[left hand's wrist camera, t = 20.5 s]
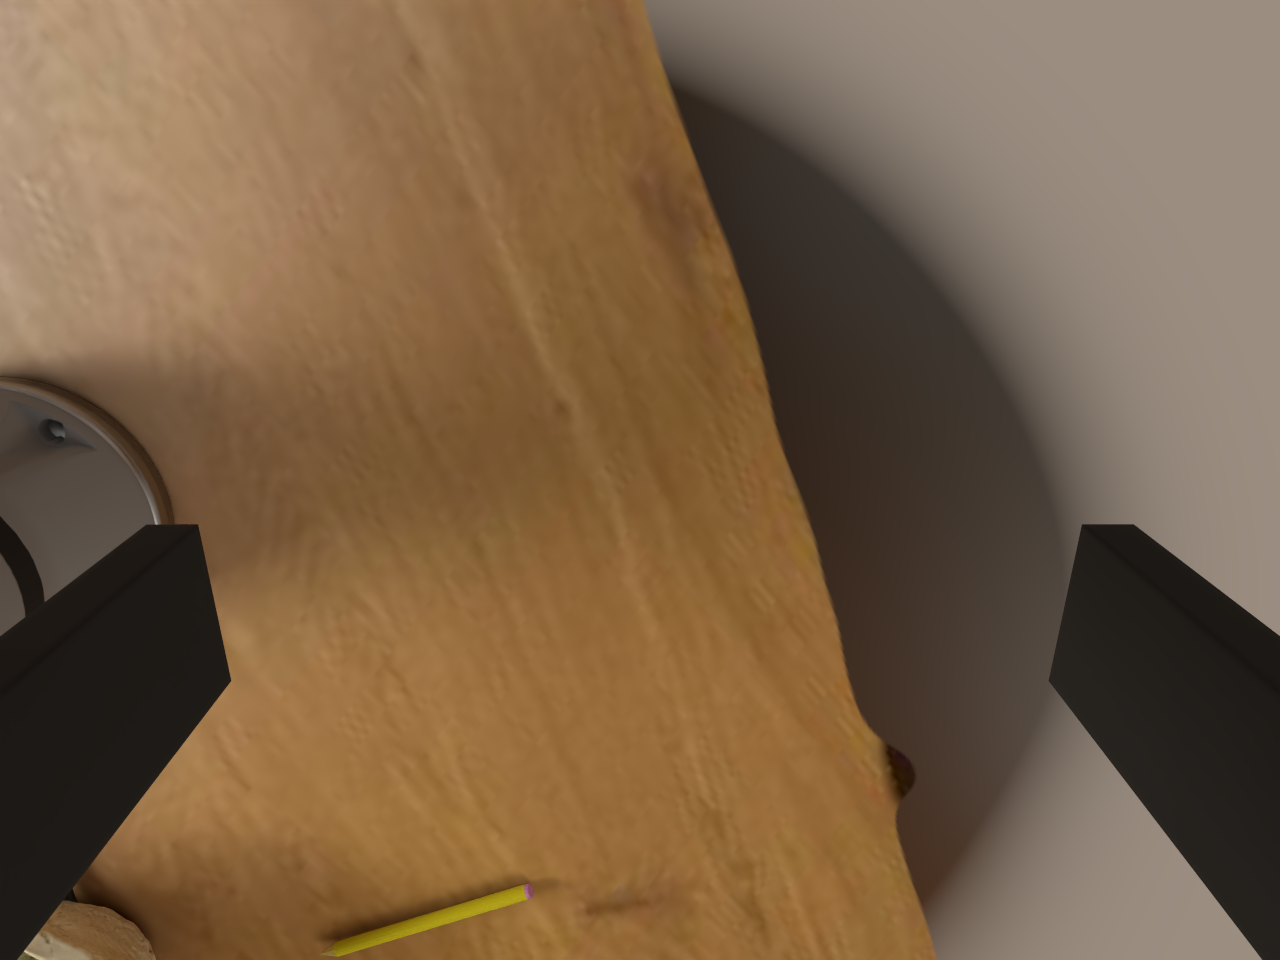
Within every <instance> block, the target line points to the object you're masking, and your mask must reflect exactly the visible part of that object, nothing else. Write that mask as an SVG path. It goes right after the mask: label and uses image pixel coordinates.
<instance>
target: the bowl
mask: <svg viewBox="0 0 1280 960" xmlns="http://www.w3.org/2000/svg"><path fill="white" fill-rule="evenodd" d="M18 960H156V957H155V954H154V952H153V951H152V947H151V944H150V942H149V940H148V939H146V938H145V937H144V935H143V934H142V933H141V931H140V930H139V928H138V927H137V926H136V925H135V924H134V923H133V922H131V921H129V920H126V919H125V918H123V917H122V916H120V915H119V914H118V913H116V912H115V911H113V910H112V909H109V908H106V907H101V906H96V905H91V904H83V903H76V902H71V901H62V902H61V904H60V905H59V906H58V908H57V909H56V910H55V912H54V913H53V914H52V915H51V917H50V918H49V919H48V921H47V922H46V923H45V925H44V926H43V927H42V928H41V930H40V931H39V932H38V934H37V935H36V936H35V938H34V939H33V940H32V942H31V943H30V944H29V945H28V947H27V948H26V949H25V951H24V952H23V953H22V955H21V956H20V957H19V958H18Z"/></svg>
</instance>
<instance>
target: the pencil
mask: <svg viewBox="0 0 1280 960" xmlns="http://www.w3.org/2000/svg"><path fill="white" fill-rule="evenodd" d="M531 898H533V888H532V885H531V884H530V883H528V884H523V885H520V886H517V887H513V888H510V889H507V890H504V891H500V892H497V893H494V894H490V895H487V896H484V897H481V898H477V899H474V900H471V901H468V902H464V903H461V904H458V905H454V906H451V907H448V908H445V909H441V910H438V911H435V912H431V913H428V914H425V915H422V916H418V917H415V918H412V919H408V920H405V921H402V922H399V923H395V924H392V925H389V926H386V927H382V928H379V929H376V930H372V931H369V932H366V933H363V934H359V935H356V936H353V937H349V938H346V939H343V940H340V941H337V942H335V943H334V944H333V945H331V946H330V947H329V948H327V949H326V950H325V951H323V952H322V953H321V954H319V955H328V956H337V957H339V956H342V955H345V954H348V953H352V952H355V951H358V950H362V949H365V948H368V947H372V946H375V945H378V944H382V943H385V942H388V941H391V940H395V939H398V938H401V937H405V936H408V935H411V934H415V933H418V932H421V931H425V930H428V929H431V928H435V927H438V926H441V925H445V924H448V923H451V922H455V921H458V920H461V919H465V918H468V917H471V916H474V915H478V914H481V913H484V912H488V911H491V910H494V909H498V908H501V907H504V906H508V905H511V904H514V903H518V902H521V901H524V900H528V899H531Z"/></svg>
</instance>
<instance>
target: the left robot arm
mask: <svg viewBox="0 0 1280 960" xmlns="http://www.w3.org/2000/svg"><path fill="white" fill-rule="evenodd" d="M230 682H231V677H230V673H229V668H228V663H227V659H226V654H225V649H224V645H223V640H222V635H221V631H220V626H219V621H218V616H217V612H216V607H215V602H214V598H213V593H212V588H211V584H210V579H209V574H208V569H207V565H206V560H205V555H204V551H203V546H202V541H201V537H200V532H199V527H198V524H174V519H173V511H172V507H171V503H170V499H169V496H168V494H167V491H166V488H165V486H164V483H163V481H162V479H161V477H160V475H159V473H158V471H157V470H156V468H155V466H154V464H153V463H152V461H151V460H150V458H149V457H148V456H147V454H146V453H145V451H144V450H143V449H142V448H141V446H140V445H139V444H138V443H137V442H136V440H135V439H134V438H133V437H132V436H131V435H130V434H129V433H128V432H127V431H126V430H125V429H124V428H123V427H121V426H120V425H119V424H118V423H117V422H116V421H115V420H113V419H112V418H111V417H109V416H108V415H107V414H105V413H104V412H103V411H101V410H100V409H98V408H97V407H95V406H94V405H92V404H90V403H89V402H87V401H85V400H83V399H81V398H79V397H78V396H76V395H74V394H71V393H69V392H67V391H64V390H62V389H59V388H57V387H54V386H51V385H48V384H44V383H40V382H36V381H32V380H26V379H20V378H9V377H0V960H18V958H19V957H20V956H21V955H22V953H23V952H24V951H25V949H26V948H27V947H28V945H29V944H30V943H31V942H32V940H33V939H34V938H35V936H36V935H37V934H38V932H39V931H40V930H41V928H42V927H43V926H44V925H45V923H46V922H47V921H48V919H49V918H50V917H51V915H52V914H53V913H54V912H55V910H56V909H57V908H58V906H59V905H60V904H61V902H62V901H71V902H76V903H78V902H77V900H76V897H75V894H74V892H73V889H72V888H73V887H74V885H75V884H76V883H77V881H78V880H79V879H80V878H81V876H82V875H83V874H84V872H85V871H86V870H87V868H88V867H89V866H90V865H91V863H92V862H93V861H94V859H95V858H96V857H97V855H98V854H99V853H100V851H101V850H102V849H103V848H104V846H105V845H106V844H107V842H108V841H109V840H110V838H111V837H112V836H113V834H114V833H115V832H116V831H117V829H118V828H119V827H120V825H121V824H122V823H123V821H124V820H125V819H126V818H127V816H128V815H129V814H130V812H131V811H132V810H133V808H134V807H135V806H136V804H137V803H138V802H139V801H140V799H141V798H142V797H143V795H144V794H145V793H146V791H147V790H148V789H149V787H150V786H151V785H152V784H153V782H154V781H155V780H156V778H157V777H158V776H159V774H160V773H161V772H162V771H163V769H164V768H165V767H166V765H167V764H168V763H169V761H170V760H171V759H172V757H173V756H174V755H175V754H176V752H177V751H178V750H179V748H180V747H181V746H182V744H183V743H184V742H185V740H186V739H187V738H188V737H189V735H190V734H191V733H192V731H193V730H194V729H195V727H196V726H197V725H198V724H199V722H200V721H201V720H202V718H203V717H204V716H205V714H206V713H207V712H208V710H209V709H210V708H211V707H212V705H213V704H214V703H215V701H216V700H217V699H218V697H219V696H220V695H221V693H222V692H223V691H224V690H225V688H226V687H227V686H228V684H229V683H230ZM1049 682H1050V683H1051V684H1052V686H1053V687H1054V688H1055V689H1056V691H1057V692H1058V693H1059V695H1060V696H1061V697H1062V699H1063V700H1064V701H1065V703H1066V704H1067V705H1068V706H1069V708H1070V709H1071V710H1072V712H1073V713H1074V714H1075V716H1076V717H1077V718H1078V720H1079V721H1080V722H1081V724H1082V725H1083V726H1084V727H1085V729H1086V730H1087V731H1088V733H1089V734H1090V735H1091V737H1092V738H1093V739H1094V740H1095V742H1096V743H1097V744H1098V746H1099V747H1100V748H1101V750H1102V751H1103V752H1104V753H1105V755H1106V756H1107V757H1108V759H1109V760H1110V761H1111V763H1112V764H1113V765H1114V767H1115V768H1116V769H1117V770H1118V772H1119V773H1120V774H1121V776H1122V777H1123V778H1124V780H1125V781H1126V782H1127V783H1128V785H1129V786H1130V787H1131V789H1132V790H1133V791H1134V793H1135V794H1136V795H1137V797H1138V798H1139V799H1140V801H1141V802H1142V803H1143V804H1144V806H1145V807H1146V808H1147V810H1148V811H1149V812H1150V814H1151V815H1152V816H1153V817H1154V819H1155V820H1156V821H1157V823H1158V824H1159V825H1160V827H1161V828H1162V829H1163V831H1164V832H1165V833H1166V834H1167V836H1168V837H1169V838H1170V840H1171V841H1172V842H1173V844H1174V845H1175V846H1176V848H1177V849H1178V850H1179V851H1180V853H1181V854H1182V855H1183V857H1184V858H1185V859H1186V861H1187V862H1188V863H1189V865H1190V866H1191V867H1192V868H1193V870H1194V871H1195V872H1196V874H1197V875H1198V876H1199V878H1200V879H1201V880H1202V881H1203V883H1204V884H1205V885H1206V887H1207V888H1208V889H1209V891H1210V892H1211V893H1212V894H1213V896H1214V897H1215V898H1216V900H1217V901H1218V902H1219V904H1220V905H1221V906H1222V908H1223V909H1224V910H1225V912H1226V913H1227V914H1228V915H1229V917H1230V918H1231V919H1232V921H1233V922H1234V923H1235V925H1236V926H1237V927H1238V928H1239V930H1240V931H1241V932H1242V934H1243V935H1244V936H1245V938H1246V939H1247V940H1248V942H1249V943H1250V944H1251V945H1252V947H1253V948H1254V949H1255V951H1256V952H1257V953H1258V955H1259V956H1260V957H1261V958H1262V960H1280V636H1279V635H1278V634H1276V633H1275V632H1274V631H1272V630H1271V629H1270V628H1268V627H1267V626H1266V625H1264V624H1263V623H1262V622H1260V621H1259V620H1258V619H1257V618H1255V617H1254V616H1253V615H1251V614H1250V613H1249V612H1247V611H1246V610H1245V609H1244V608H1242V607H1241V606H1240V605H1238V604H1237V603H1236V602H1234V601H1233V600H1232V599H1230V598H1229V597H1228V596H1226V595H1225V594H1224V593H1223V592H1221V591H1220V590H1219V589H1217V588H1216V587H1215V586H1213V585H1212V584H1211V583H1210V582H1208V581H1207V580H1206V579H1204V578H1203V577H1202V576H1200V575H1199V574H1198V573H1196V572H1195V571H1194V570H1192V569H1191V568H1190V567H1189V566H1187V565H1186V564H1185V563H1183V562H1182V561H1181V560H1179V559H1178V558H1177V557H1176V556H1174V555H1173V554H1172V553H1170V552H1169V551H1168V550H1166V549H1165V548H1164V547H1162V546H1161V545H1160V544H1159V543H1157V542H1156V541H1155V540H1153V539H1152V538H1151V537H1149V536H1148V535H1147V534H1145V533H1144V532H1143V531H1142V530H1140V529H1139V528H1138V527H1136V526H1135V525H1133V524H1131V525H1130V524H1128V525H1127V524H1126V525H1123V524H1119V525H1118V524H1115V525H1113V524H1112V525H1110V524H1109V525H1108V524H1107V525H1106V524H1105V525H1101V524H1099V525H1096V524H1095V525H1094V524H1092V525H1089V524H1087V525H1084V524H1083V525H1082V527H1081V532H1080V537H1079V541H1078V546H1077V551H1076V555H1075V560H1074V565H1073V569H1072V574H1071V579H1070V584H1069V588H1068V593H1067V598H1066V602H1065V607H1064V612H1063V617H1062V621H1061V626H1060V631H1059V635H1058V640H1057V645H1056V649H1055V654H1054V659H1053V663H1052V668H1051V673H1050V677H1049Z"/></svg>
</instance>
